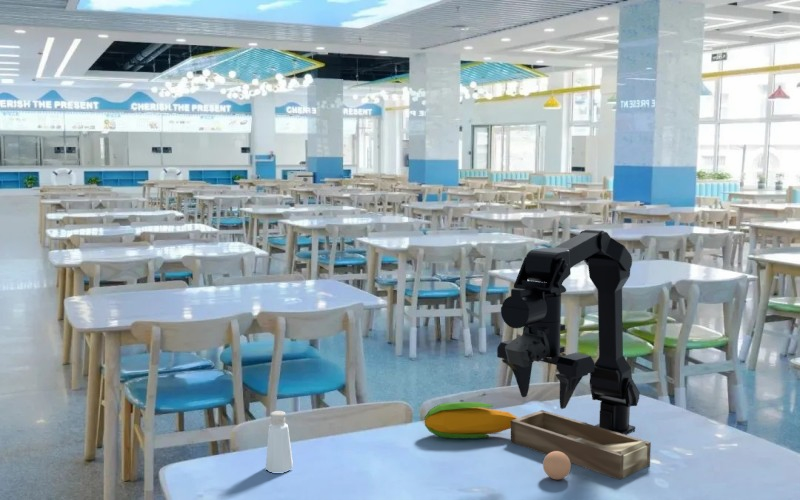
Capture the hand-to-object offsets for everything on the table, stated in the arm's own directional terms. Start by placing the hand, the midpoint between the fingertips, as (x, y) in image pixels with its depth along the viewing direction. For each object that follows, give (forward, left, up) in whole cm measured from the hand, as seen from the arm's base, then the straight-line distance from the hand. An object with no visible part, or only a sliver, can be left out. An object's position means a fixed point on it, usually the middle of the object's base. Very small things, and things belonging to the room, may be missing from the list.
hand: (543, 402), depth 152 cm
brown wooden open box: (-12, -1, -13) cm, 18 cm away
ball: (+1, +4, -11) cm, 11 cm away
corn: (-4, -22, -14) cm, 26 cm away
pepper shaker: (+36, -34, -14) cm, 51 cm away
